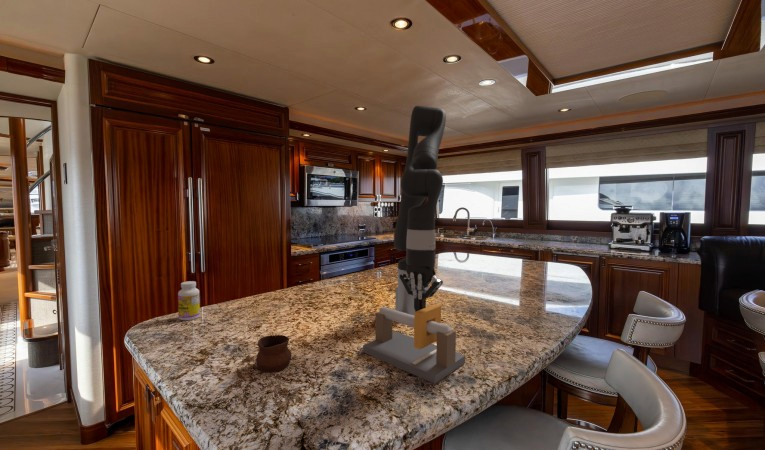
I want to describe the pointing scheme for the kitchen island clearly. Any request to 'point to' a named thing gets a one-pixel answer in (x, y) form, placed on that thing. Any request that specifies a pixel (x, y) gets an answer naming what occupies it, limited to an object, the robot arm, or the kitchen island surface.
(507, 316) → the kitchen island surface
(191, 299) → the supplement bottle
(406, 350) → the pipe stand
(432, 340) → the orange square ring
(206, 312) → the kitchen island surface
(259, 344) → the ceramic pot
